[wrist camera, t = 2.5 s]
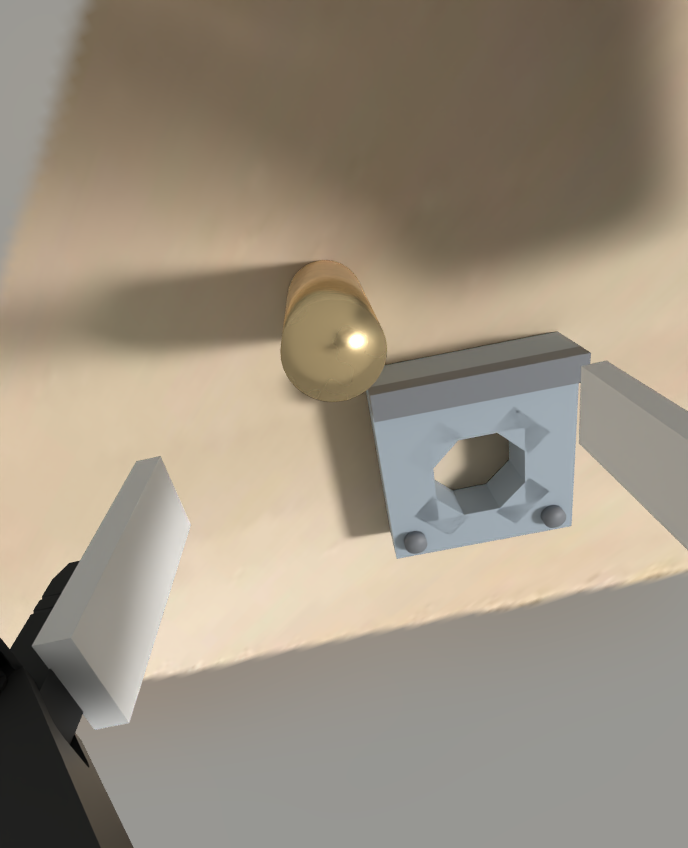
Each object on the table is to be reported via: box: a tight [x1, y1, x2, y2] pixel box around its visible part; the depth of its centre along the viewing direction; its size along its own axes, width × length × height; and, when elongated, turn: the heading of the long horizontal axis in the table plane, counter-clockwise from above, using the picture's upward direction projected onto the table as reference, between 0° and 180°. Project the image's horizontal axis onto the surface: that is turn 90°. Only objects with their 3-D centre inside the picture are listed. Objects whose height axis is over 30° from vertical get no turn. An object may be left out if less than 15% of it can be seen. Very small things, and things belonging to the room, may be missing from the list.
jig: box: [366, 332, 591, 559], centre depth 34 cm, size 14×13×4 cm
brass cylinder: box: [280, 260, 387, 402], centre depth 26 cm, size 5×5×10 cm
